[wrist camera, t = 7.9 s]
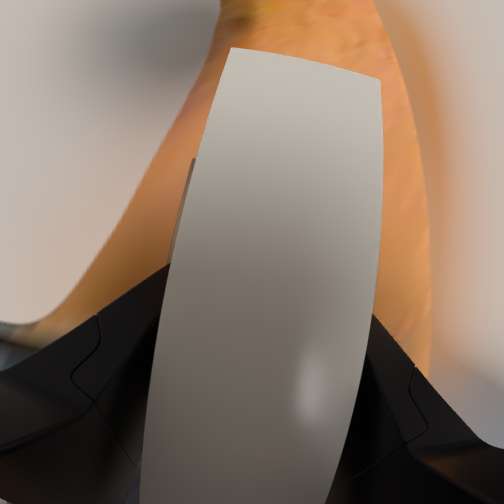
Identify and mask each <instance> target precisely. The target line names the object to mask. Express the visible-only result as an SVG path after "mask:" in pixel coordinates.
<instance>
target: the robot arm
mask: <svg viewBox="0 0 504 504" xmlns="http://www.w3.org/2000/svg"><path fill="white" fill-rule="evenodd" d="M170 265H171V262H170V263H169V264H167V265H166V266H164V267H163V268H161V269H160V270H158V271H157V272H155V273H154V274H152V275H151V276H149V277H148V278H146V279H145V280H143V281H142V282H141V283H139V284H138V285H136V286H135V287H133V288H132V289H130V290H129V291H127V292H126V293H125V294H123V295H122V296H120V297H119V298H117V299H116V300H115V301H113V302H112V303H110V304H109V305H107V306H106V307H105V308H103V309H102V310H100V311H99V312H98V313H97V315H93V316H92V317H90V318H89V319H88V320H86V321H85V322H83V323H82V324H80V325H79V326H77V327H76V328H74V329H73V330H72V331H70V332H69V333H67V334H65V335H64V336H62V337H60V338H59V339H57V340H56V341H54V342H52V343H51V344H49V345H47V346H45V347H44V348H42V349H40V350H39V351H37V352H35V353H33V354H32V355H30V356H28V357H27V358H25V359H23V360H21V361H20V362H18V363H16V364H15V365H13V366H11V367H9V368H7V369H5V370H2V371H0V504H124V503H125V500H126V497H127V494H128V491H129V489H130V486H131V483H132V480H133V477H134V474H135V471H136V469H135V468H137V465H138V462H139V459H140V456H141V453H142V451H143V440H144V430H145V420H146V411H147V403H148V395H149V387H150V380H151V372H152V366H153V359H154V352H155V346H156V340H157V334H158V328H159V322H160V316H161V311H162V305H163V300H164V295H165V289H166V284H167V279H168V274H169V269H170ZM325 504H504V449H501V448H497V447H494V446H492V445H489V444H487V443H486V442H484V441H482V440H481V439H480V438H479V437H478V436H477V435H476V434H475V433H474V432H473V431H472V430H471V429H470V428H469V427H468V426H467V425H466V423H465V422H464V421H463V420H462V419H461V418H460V417H459V416H458V415H457V414H456V412H455V411H454V410H453V409H452V408H451V407H450V406H449V405H448V404H447V402H446V401H445V400H444V399H443V398H442V397H441V396H440V395H439V393H438V392H437V391H436V390H435V389H434V388H433V386H432V385H431V384H430V383H429V382H428V380H427V379H426V378H425V377H424V375H423V374H422V373H421V372H420V370H419V369H418V368H417V367H415V364H414V363H413V362H412V360H411V359H410V358H409V357H408V356H407V354H406V353H405V352H404V351H403V349H402V348H401V347H400V346H399V344H398V343H397V342H396V341H395V340H394V338H393V337H392V336H391V335H390V334H389V332H388V331H387V330H386V329H385V328H384V326H383V325H382V324H381V323H380V322H379V320H378V319H377V318H376V317H375V316H374V314H373V313H372V318H371V324H370V330H369V336H368V342H367V348H366V353H365V359H364V364H363V369H362V374H361V379H360V383H359V388H358V392H357V397H356V401H355V405H354V409H353V413H352V417H351V421H350V425H349V429H348V432H347V436H346V440H345V443H344V447H343V450H342V453H341V457H340V460H339V463H338V466H337V470H336V473H335V476H334V479H333V482H332V485H331V488H330V491H329V493H328V496H327V499H326V502H325Z"/></svg>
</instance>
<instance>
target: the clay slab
mask: <svg viewBox="0 0 504 504" xmlns="http://www.w3.org/2000/svg"><path fill="white" fill-rule="evenodd" d="M382 200H383V122H382V101H381V87H380V80H378V79H375V78H372V77H369V76H366V75H363V74H360V73H356V72H353V71H349V70H346V69H342V68H339V67H335V66H331V65H327V64H323V63H319V62H315V61H310V60H306V59H301V58H296V57H291V56H286V55H280V54H275V53H269V52H263V51H256V50H249V49H241V48H232V47H231V50H230V53H229V56H228V59H227V62H226V64H225V67H224V70H223V73H222V76H221V79H220V82H219V85H218V88H217V91H216V94H215V97H214V101H213V104H212V107H211V110H210V113H209V117H208V120H207V123H206V127H205V130H204V133H203V137H202V140H201V144H200V147H199V151H198V154H197V158H196V161H195V165H194V169H193V172H192V176H191V180H190V184H189V188H188V192H187V196H186V200H185V204H184V208H183V212H182V216H181V220H180V224H179V229H178V233H177V237H176V242H175V246H174V251H173V255H172V260H171V265H170V269H169V274H168V279H167V284H166V289H165V295H164V300H163V305H162V311H161V316H160V322H159V328H158V334H157V340H156V346H155V352H154V359H153V366H152V372H151V380H150V387H149V395H148V403H147V411H146V420H145V430H144V440H143V451H142V463H141V478H140V495H139V504H325V502H326V499H327V496H328V493H329V491H330V488H331V485H332V482H333V479H334V476H335V473H336V470H337V466H338V463H339V460H340V457H341V453H342V450H343V447H344V443H345V440H346V436H347V432H348V429H349V425H350V421H351V417H352V413H353V409H354V405H355V401H356V397H357V392H358V388H359V383H360V379H361V374H362V369H363V364H364V359H365V353H366V348H367V342H368V336H369V330H370V324H371V318H372V311H373V304H374V296H375V288H376V279H377V270H378V260H379V249H380V236H381V221H382Z"/></svg>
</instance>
